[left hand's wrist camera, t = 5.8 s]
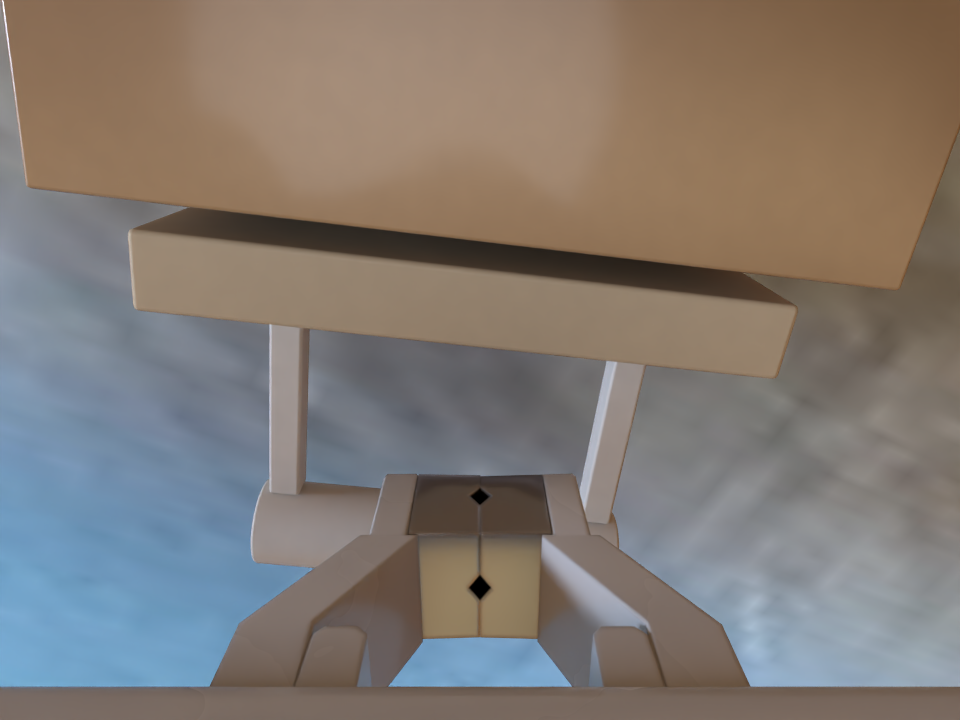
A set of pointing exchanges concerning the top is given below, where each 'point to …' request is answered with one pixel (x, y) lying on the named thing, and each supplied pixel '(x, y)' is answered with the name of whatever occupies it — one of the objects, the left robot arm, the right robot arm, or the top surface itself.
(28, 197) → the top surface
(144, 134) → the wooden box
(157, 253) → the drawer
